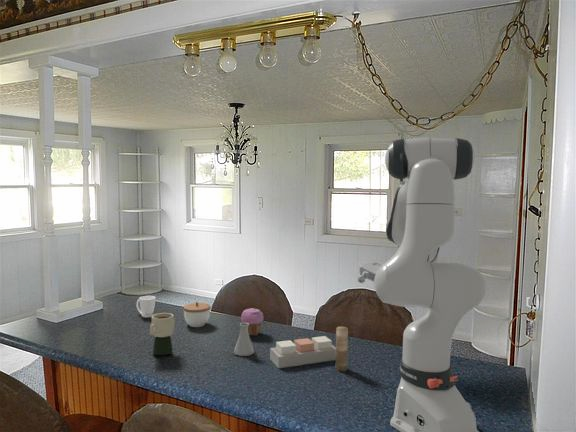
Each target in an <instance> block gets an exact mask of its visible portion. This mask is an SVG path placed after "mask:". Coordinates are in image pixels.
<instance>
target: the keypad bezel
mask: <svg viewBox="0 0 576 432" xmlns="http://www.w3.org/2000/svg"><path fill="white" fill-rule="evenodd" d="M269 359H270V361H271V362H272V363H273V364H274V365H275V366H276V367H277V369H283V368H290V367H291V368H292V367H297V366H303V365H310V364H317V363H324V362H332V361H336V346H334V345H333V344H332V348H330V349H323V350H317V349H315V348H314V351H308V352H301V353H299V352H298V351H297V350H296V353H294V354H286V355H280V354H279V353H278V352H277V351H276V346H275V347H270V348H269Z"/></svg>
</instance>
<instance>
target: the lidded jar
mask: <svg viewBox="0 0 576 432" xmlns="http://www.w3.org/2000/svg"><path fill="white" fill-rule="evenodd" d="M210 314H211V305H210V304H209V303H205V302H198V301H195V302H191V303H187V304H185V305H184V306H183V316H184V320H185V322H186V323H187V325H188V326H189V327H192V328H200V327H203V326H205V324H207V322H208V321H209V319H210V316H211V315H210Z"/></svg>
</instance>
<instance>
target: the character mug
mask: <svg viewBox="0 0 576 432" xmlns="http://www.w3.org/2000/svg"><path fill="white" fill-rule="evenodd" d="M152 315H153V316H152V317H151V323H150V326H149V334H150V335H151V336H154V337H155V338H154V340H153V341H154V342H153V347H152V348H153V349H152V351H153V352H152V353H153V355H157V356H165V355H166V356H167V355H170V354H172V353H173V344H172V337H171V336H172V335H173V334H174V330H175V328H174V326H175V325H176V322H175V321H176V320H175V316H174V314H173V313H169V312H160V313H154V314H152Z"/></svg>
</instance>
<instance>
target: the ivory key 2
mask: <svg viewBox="0 0 576 432" xmlns="http://www.w3.org/2000/svg"><path fill="white" fill-rule="evenodd" d="M311 341H312V342H313V343H314V348H315V349H317V350H323V349H330V348H332V345H333V343H332V342H333V341H332V340H331V339H330V338H329V337H327V336H326V335H323V336H322V335H321V336H314V337H311Z"/></svg>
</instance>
